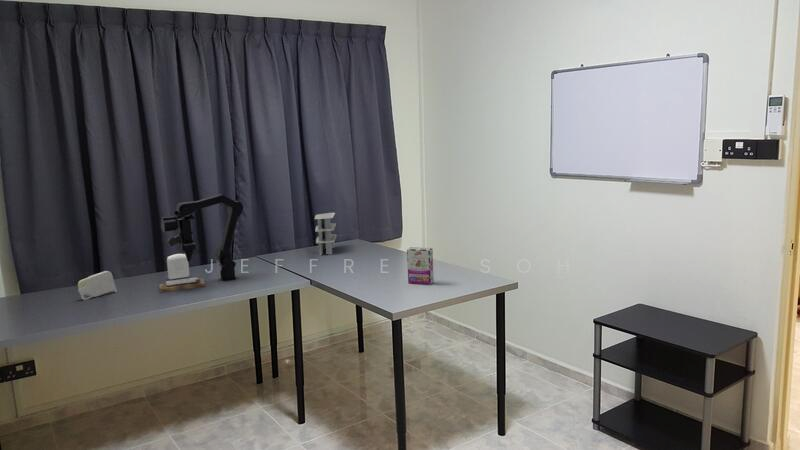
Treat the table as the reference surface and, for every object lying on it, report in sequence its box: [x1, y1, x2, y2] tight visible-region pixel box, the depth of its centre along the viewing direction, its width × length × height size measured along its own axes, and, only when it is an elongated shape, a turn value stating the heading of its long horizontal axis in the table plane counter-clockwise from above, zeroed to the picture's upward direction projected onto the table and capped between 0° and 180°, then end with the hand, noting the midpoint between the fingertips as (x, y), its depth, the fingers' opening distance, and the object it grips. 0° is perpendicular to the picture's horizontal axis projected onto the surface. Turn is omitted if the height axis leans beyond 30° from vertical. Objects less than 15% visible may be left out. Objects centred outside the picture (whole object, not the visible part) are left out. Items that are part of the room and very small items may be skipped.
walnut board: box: [159, 276, 206, 293], centre depth 279 cm, size 20×10×3 cm, turn 115°
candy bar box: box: [406, 247, 435, 286], centre depth 269 cm, size 11×5×16 cm, turn 68°
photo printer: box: [166, 253, 190, 281], centre depth 296 cm, size 10×4×12 cm, turn 123°
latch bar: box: [165, 276, 200, 286], centre depth 279 cm, size 15×4×1 cm, turn 115°
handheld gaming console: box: [77, 270, 118, 301], centre depth 267 cm, size 11×3×15 cm
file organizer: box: [314, 212, 337, 256], centre depth 346 cm, size 26×35×22 cm
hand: (188, 261), depth 278 cm, fingers closed
